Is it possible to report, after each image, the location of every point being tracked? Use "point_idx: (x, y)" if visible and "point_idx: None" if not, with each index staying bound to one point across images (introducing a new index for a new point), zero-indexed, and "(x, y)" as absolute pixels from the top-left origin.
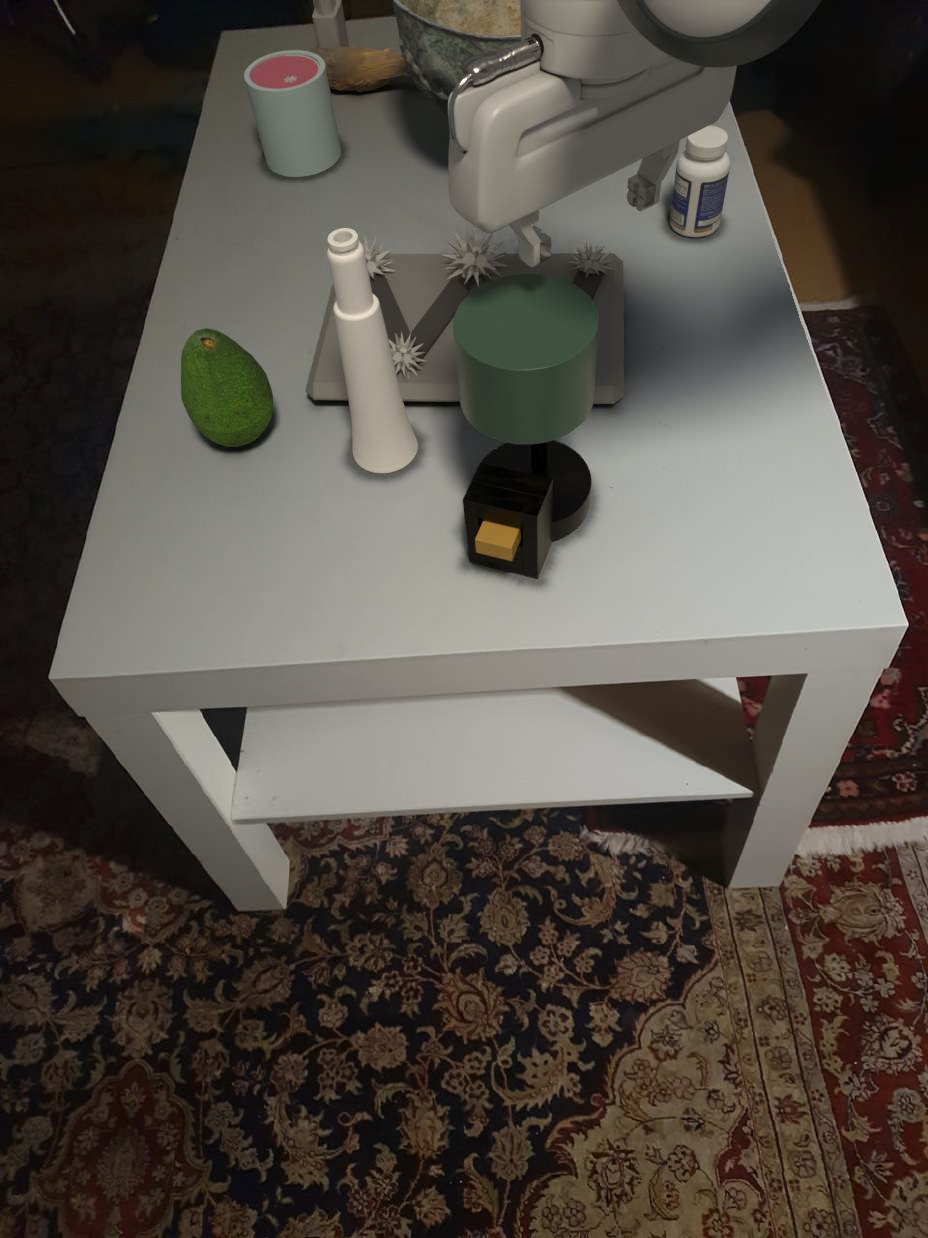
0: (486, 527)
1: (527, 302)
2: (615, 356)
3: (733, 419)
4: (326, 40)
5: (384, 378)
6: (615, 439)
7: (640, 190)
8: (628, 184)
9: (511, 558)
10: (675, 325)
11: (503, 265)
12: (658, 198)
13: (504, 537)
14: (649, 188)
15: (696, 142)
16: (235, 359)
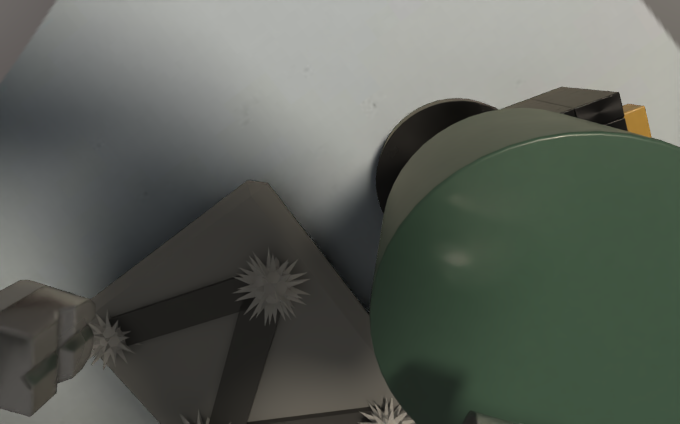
0: None
1: (499, 358)
2: (208, 225)
3: (180, 46)
4: None
5: None
6: (304, 150)
7: (42, 350)
8: (47, 398)
9: (633, 104)
10: (106, 203)
11: (185, 419)
12: (17, 285)
13: (631, 127)
14: (14, 329)
15: None
16: None
